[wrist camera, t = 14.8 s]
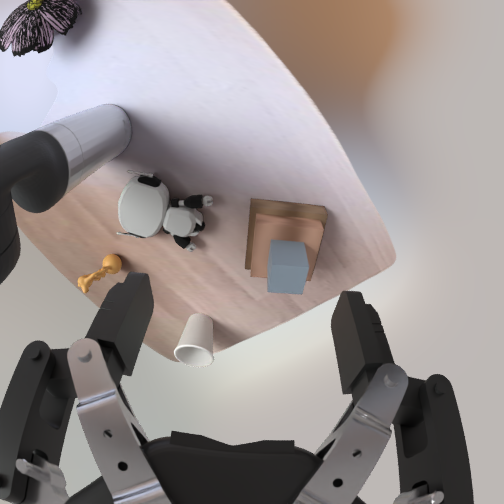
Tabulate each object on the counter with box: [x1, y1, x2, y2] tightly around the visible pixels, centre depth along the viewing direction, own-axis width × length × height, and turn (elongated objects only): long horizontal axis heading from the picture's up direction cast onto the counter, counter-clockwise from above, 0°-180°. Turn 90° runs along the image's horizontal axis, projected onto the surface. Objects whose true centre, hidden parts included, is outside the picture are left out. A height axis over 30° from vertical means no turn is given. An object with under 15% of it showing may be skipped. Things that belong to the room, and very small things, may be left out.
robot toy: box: [117, 170, 213, 252], centre depth 44 cm, size 12×4×15 cm
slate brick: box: [267, 239, 309, 294], centre depth 41 cm, size 5×5×6 cm
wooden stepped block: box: [245, 199, 328, 281], centre depth 46 cm, size 12×12×6 cm
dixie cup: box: [174, 313, 214, 367], centre depth 59 cm, size 8×8×10 cm
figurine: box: [78, 254, 122, 293], centre depth 47 cm, size 8×6×12 cm
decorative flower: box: [0, 0, 82, 57], centre depth 21 cm, size 15×12×15 cm
